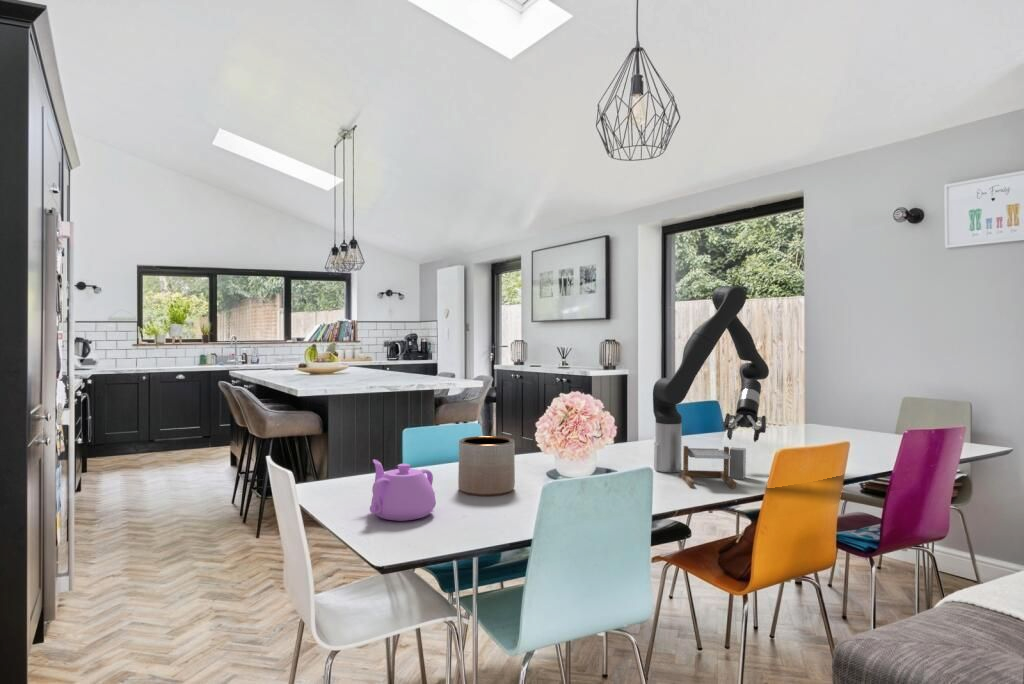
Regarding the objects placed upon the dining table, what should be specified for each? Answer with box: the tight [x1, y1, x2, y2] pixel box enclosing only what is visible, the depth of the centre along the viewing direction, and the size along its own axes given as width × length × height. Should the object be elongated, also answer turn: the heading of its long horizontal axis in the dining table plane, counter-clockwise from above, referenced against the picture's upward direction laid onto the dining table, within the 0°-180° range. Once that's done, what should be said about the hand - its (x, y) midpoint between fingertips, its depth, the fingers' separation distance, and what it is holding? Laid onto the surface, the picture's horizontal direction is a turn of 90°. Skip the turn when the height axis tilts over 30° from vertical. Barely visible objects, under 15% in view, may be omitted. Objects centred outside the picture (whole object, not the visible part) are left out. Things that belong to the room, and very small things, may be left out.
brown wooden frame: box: [679, 445, 738, 490], centre depth 221 cm, size 18×15×12 cm
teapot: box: [369, 459, 437, 522], centre depth 180 cm, size 22×22×14 cm
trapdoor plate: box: [688, 447, 731, 460], centre depth 220 cm, size 15×11×3 cm
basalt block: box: [729, 446, 747, 481], centre depth 228 cm, size 4×4×10 cm
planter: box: [457, 435, 516, 497], centre depth 208 cm, size 18×18×16 cm
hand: (742, 439), depth 235 cm, fingers open, 8 cm apart
